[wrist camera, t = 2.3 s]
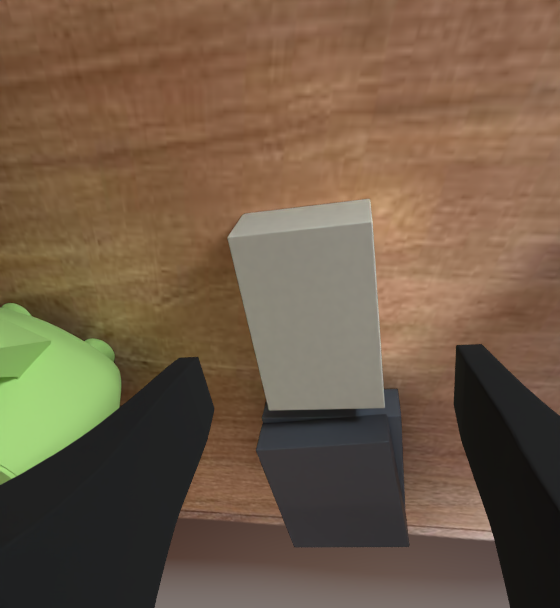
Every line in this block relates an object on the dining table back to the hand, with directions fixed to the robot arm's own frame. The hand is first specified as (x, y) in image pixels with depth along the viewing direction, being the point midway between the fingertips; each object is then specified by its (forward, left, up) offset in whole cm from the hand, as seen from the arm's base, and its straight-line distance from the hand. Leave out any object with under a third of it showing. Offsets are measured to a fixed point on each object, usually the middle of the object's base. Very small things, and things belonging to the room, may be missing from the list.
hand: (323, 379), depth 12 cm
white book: (-2, +1, -8) cm, 9 cm away
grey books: (-12, +1, -8) cm, 15 cm away
